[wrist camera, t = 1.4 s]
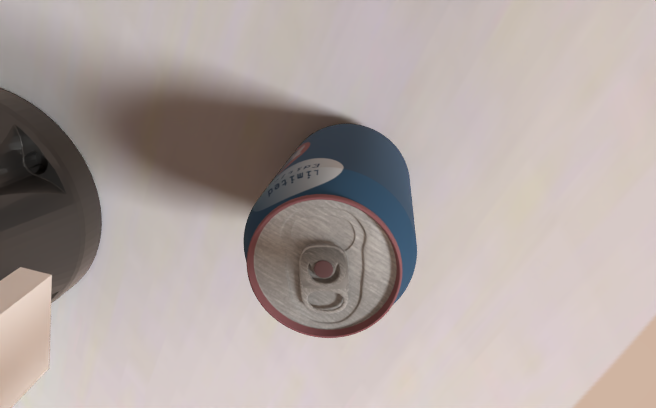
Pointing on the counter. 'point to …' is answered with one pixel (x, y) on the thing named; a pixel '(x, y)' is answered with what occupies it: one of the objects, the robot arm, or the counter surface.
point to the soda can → (333, 234)
